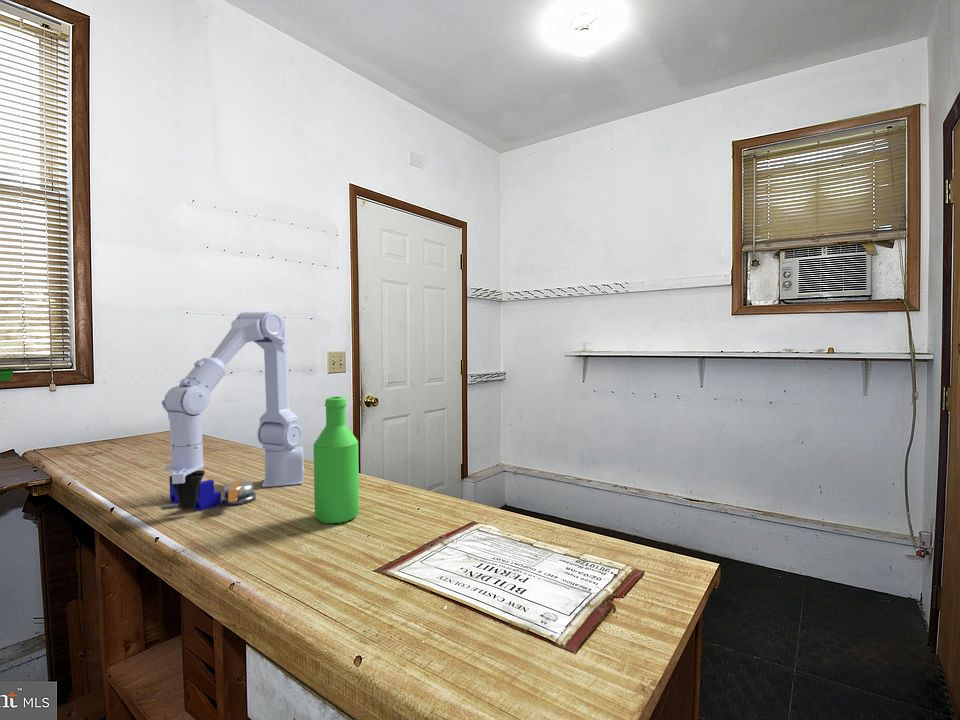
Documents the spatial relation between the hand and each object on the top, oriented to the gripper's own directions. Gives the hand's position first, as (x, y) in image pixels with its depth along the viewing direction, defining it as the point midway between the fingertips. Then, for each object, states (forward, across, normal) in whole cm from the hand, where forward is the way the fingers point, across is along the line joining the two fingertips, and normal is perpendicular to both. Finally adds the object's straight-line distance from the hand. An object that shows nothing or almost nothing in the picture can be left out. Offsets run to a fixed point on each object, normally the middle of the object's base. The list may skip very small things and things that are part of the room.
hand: (188, 508), depth 101 cm
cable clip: (+2, -8, -1) cm, 9 cm away
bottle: (+2, +11, +30) cm, 31 cm away
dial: (0, -4, +8) cm, 10 cm away
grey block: (+2, -7, -5) cm, 9 cm away
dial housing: (+2, -7, +8) cm, 11 cm away
